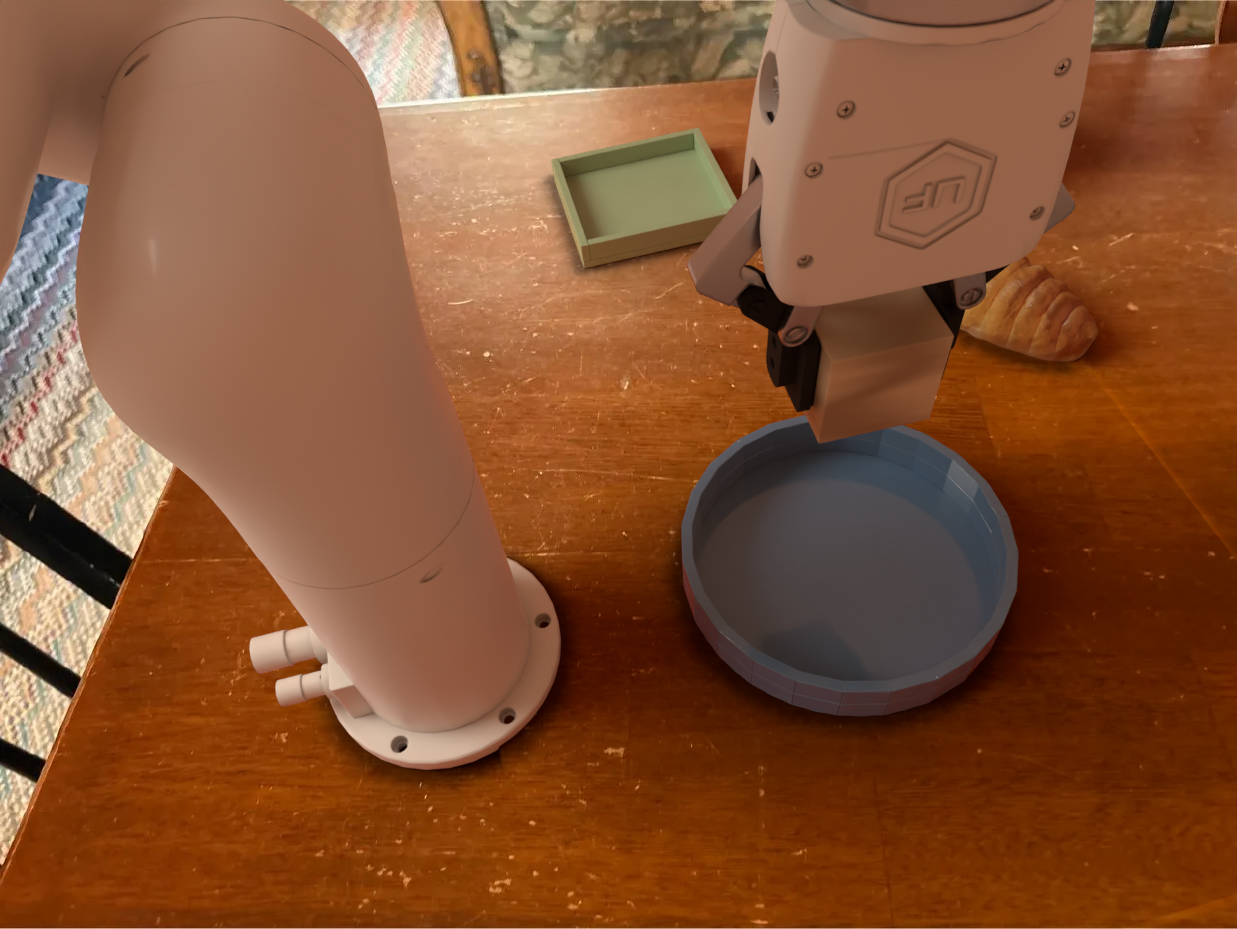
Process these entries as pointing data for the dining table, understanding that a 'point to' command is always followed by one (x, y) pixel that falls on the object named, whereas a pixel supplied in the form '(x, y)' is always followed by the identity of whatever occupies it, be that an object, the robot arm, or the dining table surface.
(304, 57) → the robot arm
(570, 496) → the dining table surface
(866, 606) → the bowl
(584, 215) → the tray
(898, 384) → the block
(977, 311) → the pastry
